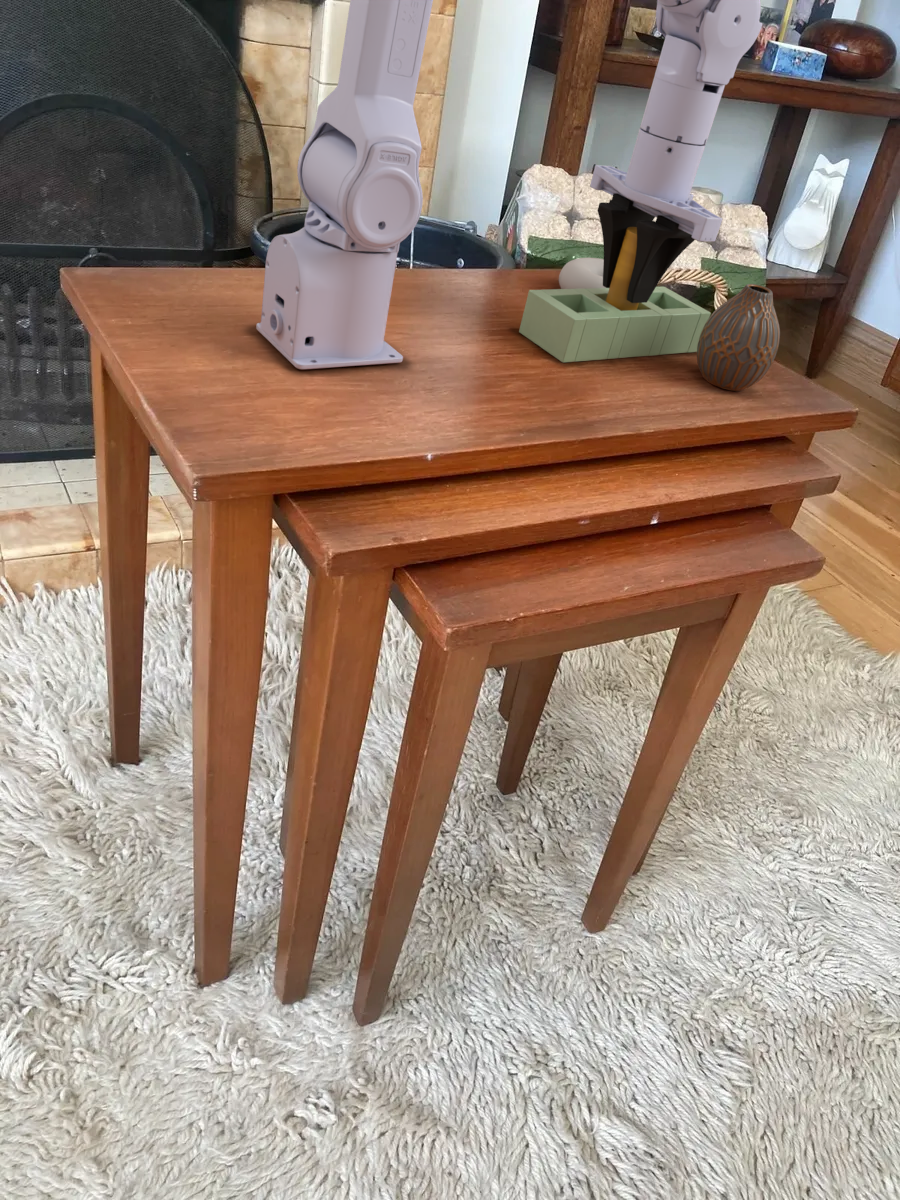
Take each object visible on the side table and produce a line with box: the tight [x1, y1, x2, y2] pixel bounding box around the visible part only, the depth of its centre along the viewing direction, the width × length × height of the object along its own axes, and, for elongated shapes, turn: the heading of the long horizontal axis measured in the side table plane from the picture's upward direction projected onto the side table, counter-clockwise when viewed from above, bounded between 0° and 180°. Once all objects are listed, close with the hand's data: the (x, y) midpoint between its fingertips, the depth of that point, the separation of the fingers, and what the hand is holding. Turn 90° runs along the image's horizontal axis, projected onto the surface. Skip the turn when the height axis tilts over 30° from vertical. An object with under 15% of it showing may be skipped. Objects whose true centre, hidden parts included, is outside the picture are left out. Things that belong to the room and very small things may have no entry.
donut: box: [558, 257, 606, 289], centre depth 100 cm, size 10×4×10 cm
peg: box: [606, 227, 639, 311], centre depth 88 cm, size 3×3×8 cm
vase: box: [696, 283, 781, 392], centre depth 87 cm, size 7×7×9 cm
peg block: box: [518, 286, 712, 364], centre depth 91 cm, size 17×7×4 cm, turn 123°
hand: (624, 294), depth 89 cm, fingers closed on peg, 3 cm apart
